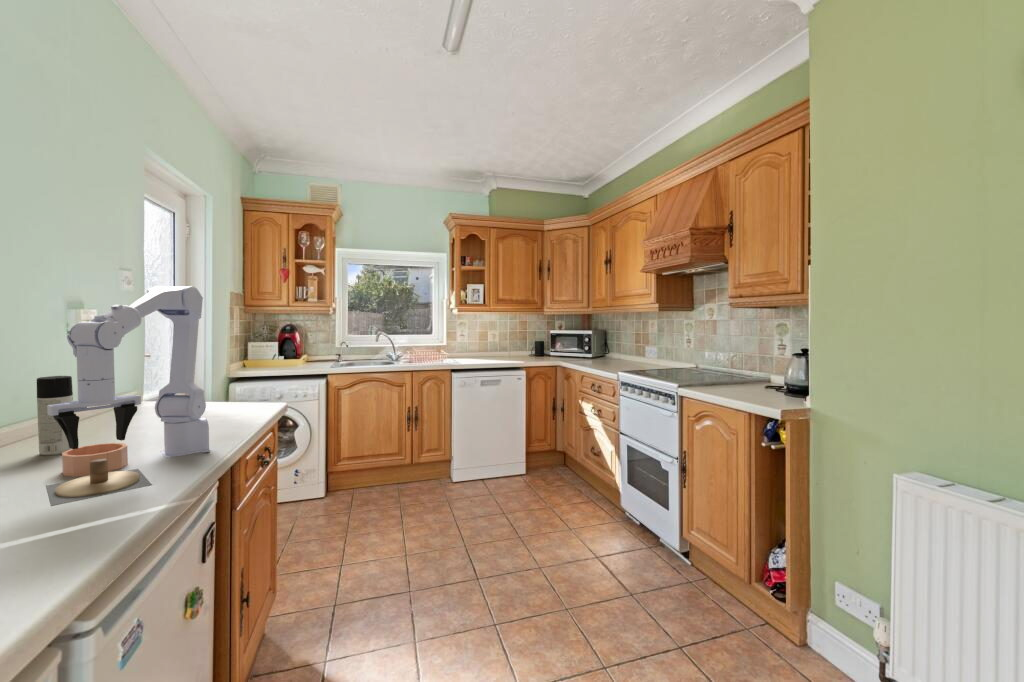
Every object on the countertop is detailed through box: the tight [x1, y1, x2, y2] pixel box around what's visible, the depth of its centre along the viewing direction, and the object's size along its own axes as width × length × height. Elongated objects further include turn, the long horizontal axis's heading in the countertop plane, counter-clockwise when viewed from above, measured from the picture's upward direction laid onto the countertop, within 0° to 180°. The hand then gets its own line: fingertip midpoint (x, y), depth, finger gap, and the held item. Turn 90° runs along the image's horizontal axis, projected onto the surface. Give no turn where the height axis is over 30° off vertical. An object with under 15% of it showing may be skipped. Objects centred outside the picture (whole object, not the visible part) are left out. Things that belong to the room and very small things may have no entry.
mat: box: [45, 468, 153, 507], centre depth 95 cm, size 15×15×1 cm
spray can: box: [36, 375, 74, 456], centre depth 119 cm, size 7×7×20 cm
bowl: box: [61, 442, 129, 478], centre depth 106 cm, size 11×11×5 cm
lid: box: [55, 459, 139, 497], centre depth 95 cm, size 13×13×5 cm
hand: (98, 443), depth 95 cm, fingers open, 7 cm apart
